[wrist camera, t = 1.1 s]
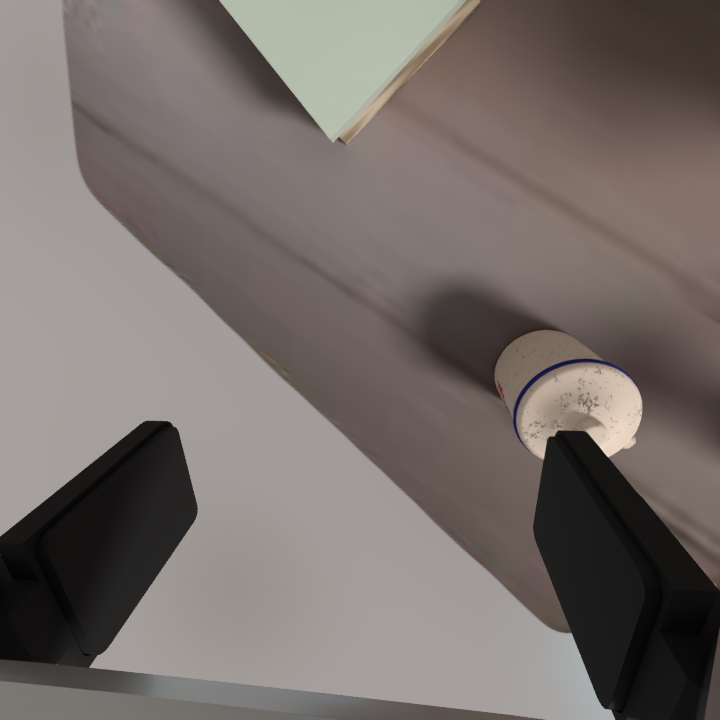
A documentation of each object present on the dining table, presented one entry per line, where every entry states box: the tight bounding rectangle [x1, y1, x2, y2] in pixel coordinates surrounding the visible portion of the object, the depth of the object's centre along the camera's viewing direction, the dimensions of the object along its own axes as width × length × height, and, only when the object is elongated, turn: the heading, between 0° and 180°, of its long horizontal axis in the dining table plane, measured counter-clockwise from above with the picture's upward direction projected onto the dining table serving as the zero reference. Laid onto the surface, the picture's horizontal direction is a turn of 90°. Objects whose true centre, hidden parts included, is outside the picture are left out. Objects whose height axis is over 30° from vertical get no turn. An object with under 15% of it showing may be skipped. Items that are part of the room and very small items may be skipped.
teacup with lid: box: [495, 330, 642, 460], centre depth 31 cm, size 12×9×12 cm
